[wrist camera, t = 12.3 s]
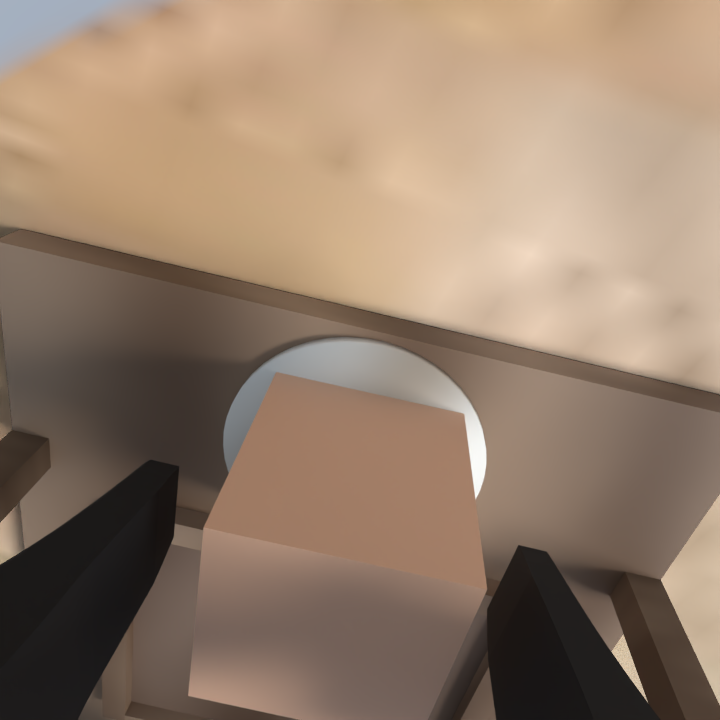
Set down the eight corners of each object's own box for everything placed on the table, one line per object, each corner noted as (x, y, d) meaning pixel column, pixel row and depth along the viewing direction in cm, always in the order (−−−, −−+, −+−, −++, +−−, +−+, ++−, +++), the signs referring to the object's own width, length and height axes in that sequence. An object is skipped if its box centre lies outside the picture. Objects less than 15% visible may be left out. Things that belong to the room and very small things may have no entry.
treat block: (464, 413, 13) (487, 589, 9) (417, 548, 15) (416, 744, 11) (275, 371, 13) (203, 527, 9) (255, 512, 15) (187, 696, 11)
